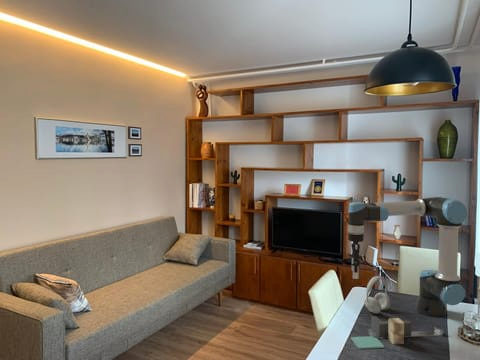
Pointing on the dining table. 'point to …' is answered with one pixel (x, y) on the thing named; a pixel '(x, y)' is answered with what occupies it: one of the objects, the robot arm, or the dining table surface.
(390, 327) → the beech block
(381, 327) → the grey l-shaped block
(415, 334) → the rail
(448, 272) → the robot arm
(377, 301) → the headphones
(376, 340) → the pad
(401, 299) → the dining table surface
